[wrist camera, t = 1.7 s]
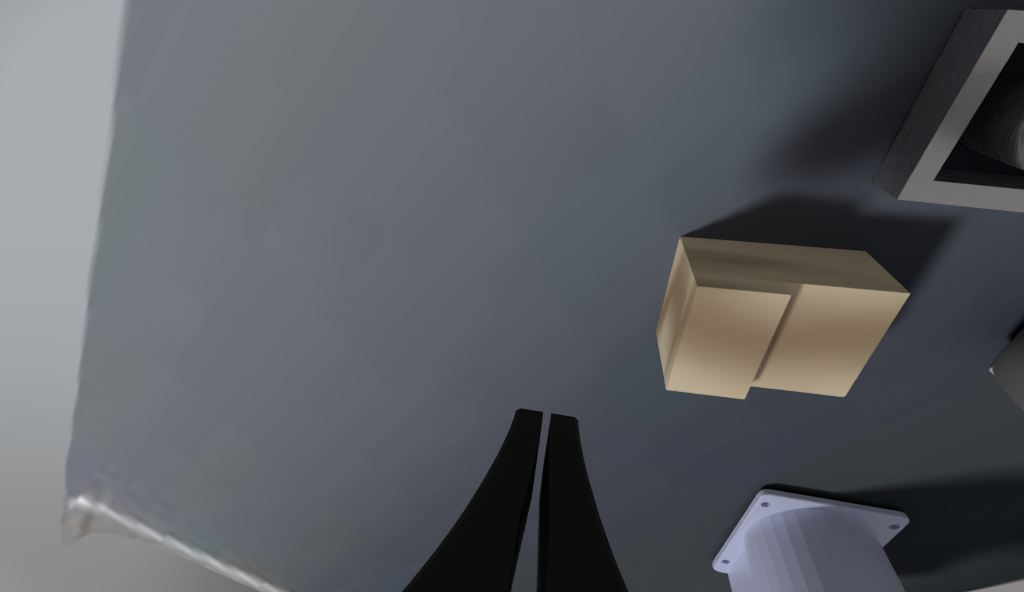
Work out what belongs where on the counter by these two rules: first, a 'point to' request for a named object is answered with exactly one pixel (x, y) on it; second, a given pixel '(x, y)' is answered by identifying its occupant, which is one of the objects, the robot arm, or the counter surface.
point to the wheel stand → (1011, 369)
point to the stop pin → (1000, 121)
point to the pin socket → (955, 119)
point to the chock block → (772, 317)
